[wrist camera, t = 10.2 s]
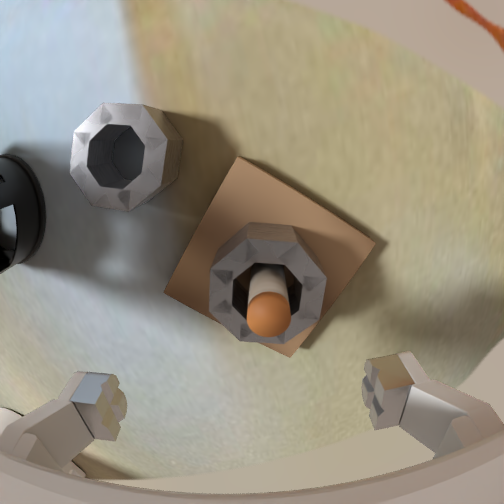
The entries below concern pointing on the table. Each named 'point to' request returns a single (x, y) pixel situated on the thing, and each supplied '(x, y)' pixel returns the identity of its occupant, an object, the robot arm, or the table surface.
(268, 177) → the keeper
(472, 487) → the robot arm
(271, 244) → the grey octagonal nut
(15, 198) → the french press
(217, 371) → the table surface
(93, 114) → the grey octagonal ring
